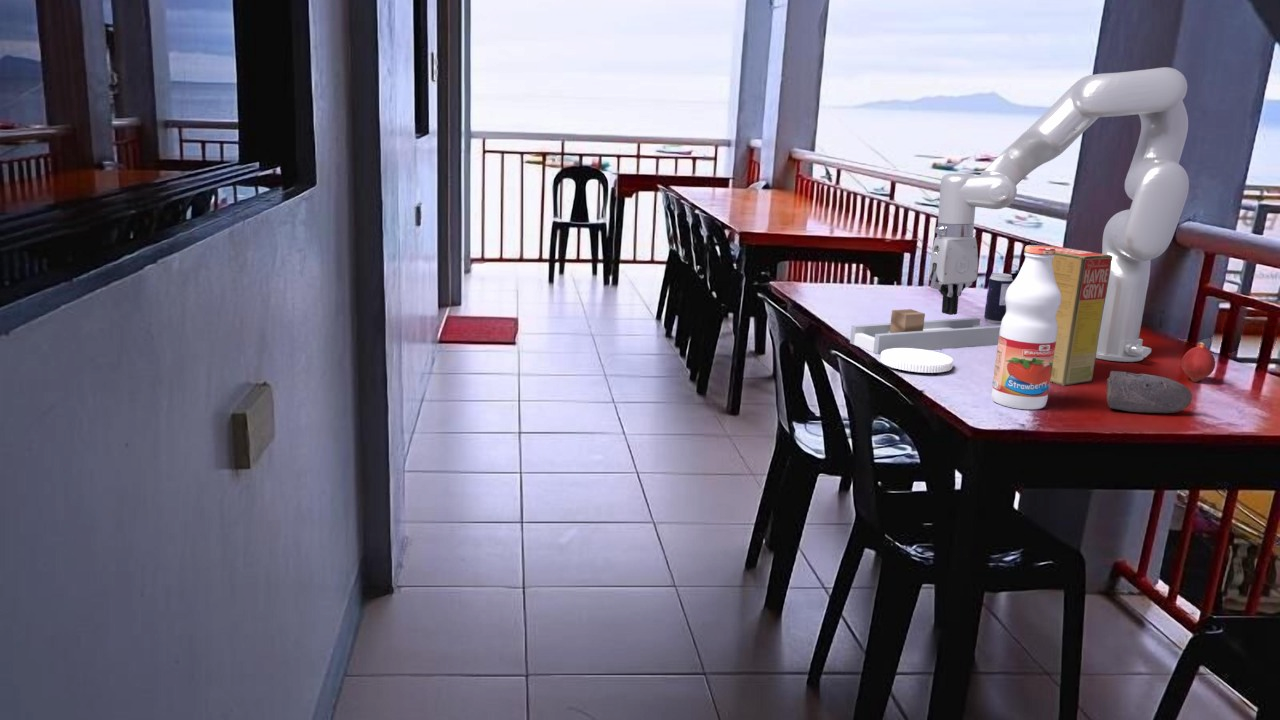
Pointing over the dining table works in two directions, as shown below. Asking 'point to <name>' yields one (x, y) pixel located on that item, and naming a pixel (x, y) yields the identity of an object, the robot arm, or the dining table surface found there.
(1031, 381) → the fruit juice
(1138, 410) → the perforated stone tool
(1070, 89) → the robot arm
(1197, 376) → the onion
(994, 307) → the beverage can
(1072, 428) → the dining table surface
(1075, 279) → the food packaging
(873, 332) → the trap track
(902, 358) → the plastic lid
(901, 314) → the walnut block
